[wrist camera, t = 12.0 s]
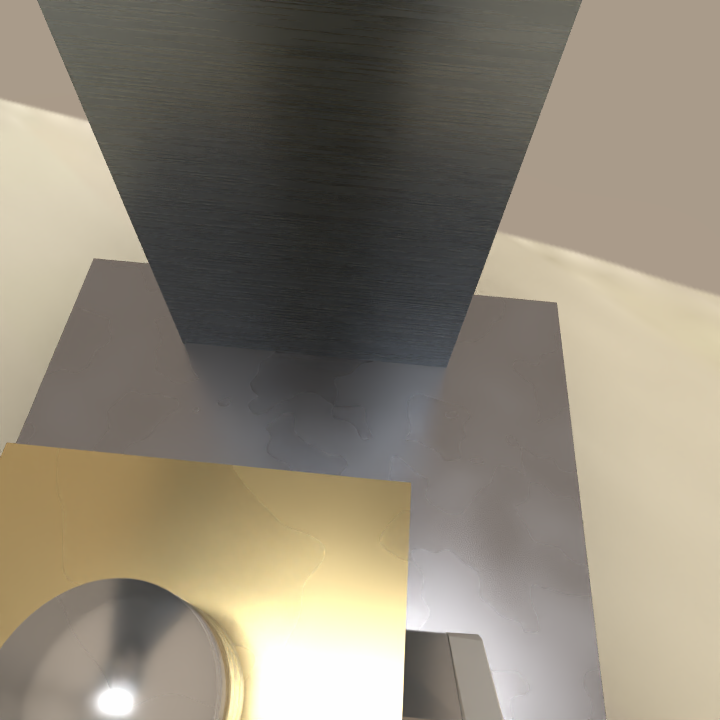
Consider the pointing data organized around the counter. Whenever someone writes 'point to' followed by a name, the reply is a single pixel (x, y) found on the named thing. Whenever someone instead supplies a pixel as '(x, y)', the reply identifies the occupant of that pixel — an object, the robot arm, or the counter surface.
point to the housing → (198, 590)
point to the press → (340, 289)
